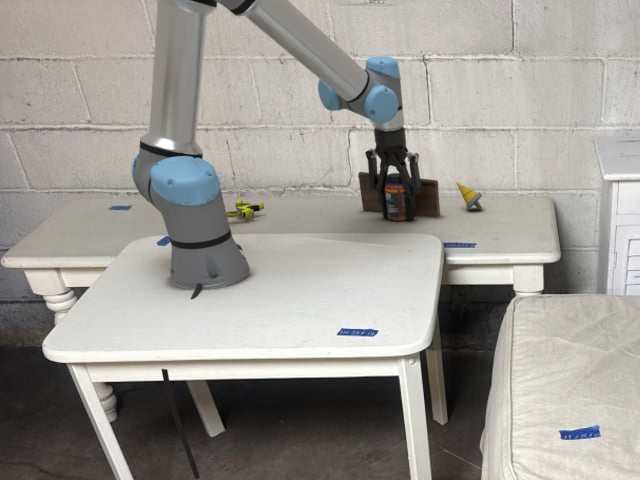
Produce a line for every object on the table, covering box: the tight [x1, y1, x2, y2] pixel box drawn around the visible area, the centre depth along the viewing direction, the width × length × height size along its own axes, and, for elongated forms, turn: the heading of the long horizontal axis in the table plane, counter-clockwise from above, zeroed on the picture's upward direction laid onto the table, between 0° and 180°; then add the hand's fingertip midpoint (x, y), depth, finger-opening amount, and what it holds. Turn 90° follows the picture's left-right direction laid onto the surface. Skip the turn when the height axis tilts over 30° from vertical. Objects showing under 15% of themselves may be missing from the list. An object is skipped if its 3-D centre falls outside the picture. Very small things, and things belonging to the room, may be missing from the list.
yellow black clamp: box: [226, 198, 265, 220], centre depth 190 cm, size 12×4×7 cm
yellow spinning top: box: [456, 182, 483, 210], centre depth 197 cm, size 5×5×10 cm
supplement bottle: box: [385, 172, 407, 222], centre depth 188 cm, size 6×6×11 cm
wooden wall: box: [357, 171, 441, 218], centre depth 193 cm, size 2×22×10 cm, turn 74°
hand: (398, 217), depth 190 cm, fingers closed on supplement bottle, 6 cm apart
